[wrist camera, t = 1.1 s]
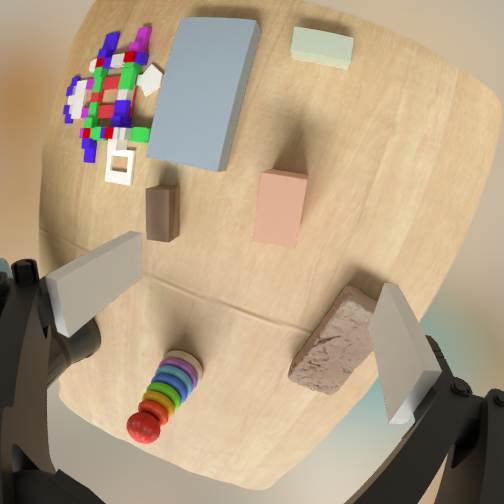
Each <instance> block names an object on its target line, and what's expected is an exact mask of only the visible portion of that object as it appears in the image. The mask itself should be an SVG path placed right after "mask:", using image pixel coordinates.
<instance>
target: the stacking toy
mask: <svg viewBox="0 0 504 504" xmlns="http://www.w3.org/2000/svg"><path fill="white" fill-rule="evenodd" d="M202 376H203V370H202V367H201V365H200V363H199V362H198V361H197V360H196V359H195V358H194V357H193V356H192V355H190V354H188V353H186V352H183V351H178V350H174V351H170V352H168V353H166V354H165V356H164V357H163V359H162V361H161V363H160V364H159V367H158V369H157V371H156V373H155V376H154V377H153V379H152V381H151V384H150V385H149V386H148V387H147V392H146V393H145V394H144V395H143V398H142V402H141V403H140V404H139V406H138V411H139V412H137V413H135V414H133V415H132V416H130V418H129V419H128V421H127V430H128V433H129V435H130V436H131V437H132V438H133V439H134V440H135V441H137V442H139V443H144V444H148V443H152V442H154V441H155V440H156V439H157V438H158V437H159V435H160V426H162V425H165V424H166V423H167V422H168V418H169V417H171V416H172V415H173V414H174V411H175V410H176V409H178V408H179V406H180V404H181V403H183V402H184V401H185V400H186V398H187V396H189V395H190V394H191V392H192V390H193V389H194V388H195V387H196V385H197V383H199V382H200V380H201V379H202Z"/></svg>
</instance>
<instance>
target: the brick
mask: <svg viewBox="0 0 504 504" xmlns="http://www.w3.org/2000/svg"><path fill="white" fill-rule="evenodd" d="M377 303H378V301H377V300H375V299H372V298H370V297H369V296H367V295H366V294H365V293H363V292H361V291H360V290H359V289H357V288H355V287H353V286H346V287H345V288H343V289H342V291H341V293H340V294H339V295H338V296H337V298H336V300H335V301H334V303H333V305H332V308H331V309H330V311H329V312H328V313H327V314H326V315H325V316H324V317H323V320H322V322H321V323H320V324H319V325H318V326H317V328H316V329H315V331H314V332H313V333H312V335H311V337H309V339H308V340H307V342H306V343H305V344H304V346H303V347H302V349H301V350H300V351H299V353H298V354H297V356H296V357H295V358H294V360H293V361H292V363H291V365H290V369H289V372H288V378H289V379H290V380H291V381H293V382H295V383H297V384H298V385H301V386H304V387H306V388H309V389H311V390H315V391H319V392H323V393H325V394H328V395H333V394H334V393H335V392H337V391H338V390H339V389H340V387H341V386H342V385H343V384H344V383H345V381H346V380H347V379H348V377H349V376H350V375H351V374H352V372H353V371H354V369H355V368H357V367H358V366H359V365H360V364H361V363H362V362H363V361H364V360H365V359H366V358H367V356H368V355H369V354H370V353H371V352H372V351H373V350H374V349H373V345H372V340H371V336H370V332H369V329H368V327H369V324H370V321H371V319H372V316H373V314H374V311H375V308H376V305H377Z"/></svg>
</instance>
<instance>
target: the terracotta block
mask: <svg viewBox="0 0 504 504" xmlns="http://www.w3.org/2000/svg"><path fill="white" fill-rule="evenodd" d="M307 178H308V175H306V174H300V173H294V172H288V171H282V170H276V169H270V170H267V171H264V172H261V179H260V187H259V194H258V202H257V209H256V217H255V224H254V232H253V239H252V240H254V241H260V242H265V243H271V244H276V245H281V246H287V247H292V248H296V243H297V238H298V232H299V227H300V221H301V215H302V209H303V203H304V197H305V191H306V185H307Z"/></svg>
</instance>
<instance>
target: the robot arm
mask: <svg viewBox="0 0 504 504" xmlns="http://www.w3.org/2000/svg"><path fill="white" fill-rule="evenodd" d="M11 270H12V271H11ZM141 278H142V233H139V232H134V231H130V232H128V233H125V234H123V235H121V236H119V237H117V238H115V239H113V240H111V241H109V242H107V243H105V244H103V245H101V246H100V247H98V248H96V249H94V250H92V251H90V252H88V253H86V254H84V255H82V256H80V257H79V258H77V259H75V260H73V261H71V262H69V263H68V264H66V265H64V266H62V267H60V268H58V269H57V270H55V271H53V272H51V273H50V274H48V275H46V276H45V277H43V278H41V279H40V280H39V274H38V269H37V263H36V261H35V260H33V259H22V260H19V261H16V262H15V263H13V264H12V265H11V269H10V267H9V264H8V262H7V261H6V260H5V259H3V258H0V504H105V503H104V502H103V501H102V500H101V499H100V498H99V497H98V496H96V495H95V494H94V493H93V492H92V491H91V490H90V489H89V488H87V487H85V486H84V485H82V484H80V483H79V482H77V481H76V480H74V479H73V478H71V477H70V476H68V475H67V474H65V473H64V472H63V471H61V470H60V469H58V471H57V472H56V471H55V468H54V466H53V464H52V462H51V459H50V455H49V445H48V430H47V389H48V388H49V387H50V385H51V384H52V383H53V382H54V381H55V380H56V379H57V378H58V377H59V376H60V375H61V374H62V373H63V372H64V371H65V370H66V369H67V368H68V367H69V366H70V365H71V364H73V363H76V362H78V361H80V360H82V359H84V358H88V357H90V356H92V355H93V354H94V353H95V352H96V351H97V350H98V349H99V347H100V342H101V341H100V334H99V330H98V328H97V325H96V323H95V321H94V319H93V317H94V316H95V315H96V314H98V313H99V312H100V311H101V310H103V309H104V308H105V307H106V306H107V305H109V304H110V303H111V302H112V301H114V300H115V299H116V298H117V297H118V296H120V295H121V294H122V293H123V292H125V291H126V290H127V289H128V288H130V287H131V286H132V285H134V284H135V283H136V282H137V281H139V280H140V279H141ZM368 329H369V332H370V336H371V340H372V345H373V349H374V353H375V357H376V362H377V366H378V371H379V375H380V380H381V385H382V390H383V395H384V400H385V406H386V411H387V417H388V423H391V424H406V423H407V421H408V420H409V419H410V417H411V416H412V415H413V414H414V418H415V423H414V424H413V426H412V427H411V428H410V429H409V430H408V431H407V433H406V434H405V435H404V436H403V437H402V440H401V441H400V443H399V444H398V445H397V447H396V448H395V449H394V450H393V452H392V453H391V454H390V455H389V457H388V458H387V459H386V460H385V461H384V462H383V464H382V465H381V466H380V467H379V468H378V469H377V471H376V472H375V473H374V474H373V475H372V476H371V477H370V478H369V479H368V480H367V481H366V482H365V483H364V485H363V486H362V487H361V488H360V489H359V490H358V491H357V492H356V493H355V494H354V495H353V496H352V497H351V498H350V499H349V500H347V501H346V502H345V503H344V504H417V503H418V502H419V500H420V499H421V498H422V496H423V495H424V493H425V491H426V490H427V488H428V487H429V485H430V484H431V482H432V480H433V479H434V477H435V475H436V474H437V472H438V470H439V468H440V466H441V465H442V463H443V461H444V459H445V457H446V455H447V453H448V456H447V460H446V464H445V469H444V472H443V476H442V480H441V483H440V487H439V490H438V493H437V497H436V499H435V502H434V504H504V392H503V391H501V390H499V389H491V390H490V391H489V392H488V394H487V395H486V396H485V398H483V397H480V396H476V395H473V394H472V390H471V387H470V386H469V385H468V383H466V382H465V381H464V380H462V379H460V378H458V377H454V376H453V374H452V372H451V370H450V368H449V366H448V364H447V362H446V359H444V356H443V354H442V352H441V350H440V348H439V346H438V344H437V342H435V340H434V339H433V338H432V337H431V336H427V335H425V334H424V332H423V330H422V329H421V326H420V324H419V323H418V321H417V319H416V317H415V315H414V313H413V311H412V309H411V308H410V306H409V304H408V302H407V300H406V298H405V297H404V295H403V293H402V291H401V290H400V288H399V286H398V285H396V284H391V283H386V282H384V285H383V288H382V291H381V294H380V297H379V300H378V303H377V305H376V308H375V311H374V314H373V316H372V319H371V321H370V324H369V327H368Z"/></svg>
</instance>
